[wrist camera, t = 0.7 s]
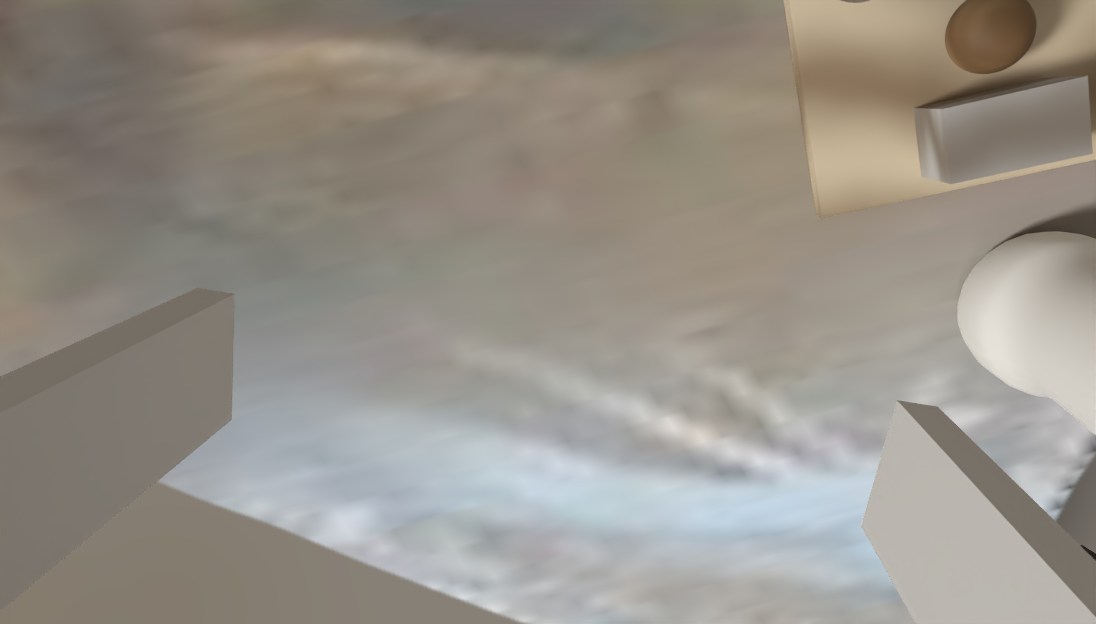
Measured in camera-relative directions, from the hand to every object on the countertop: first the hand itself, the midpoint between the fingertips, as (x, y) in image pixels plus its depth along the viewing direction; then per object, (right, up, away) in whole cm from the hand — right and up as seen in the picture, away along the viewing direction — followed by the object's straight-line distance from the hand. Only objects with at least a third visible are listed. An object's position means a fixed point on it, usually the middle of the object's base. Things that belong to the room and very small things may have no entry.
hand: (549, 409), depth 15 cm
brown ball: (+20, +15, +21) cm, 33 cm away
